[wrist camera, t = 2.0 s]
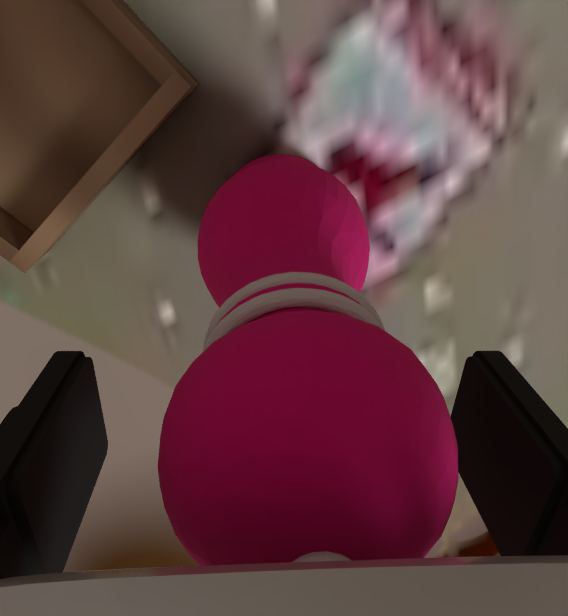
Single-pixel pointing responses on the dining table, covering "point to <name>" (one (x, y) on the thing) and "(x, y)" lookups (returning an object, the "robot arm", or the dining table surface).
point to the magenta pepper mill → (300, 391)
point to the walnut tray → (73, 111)
